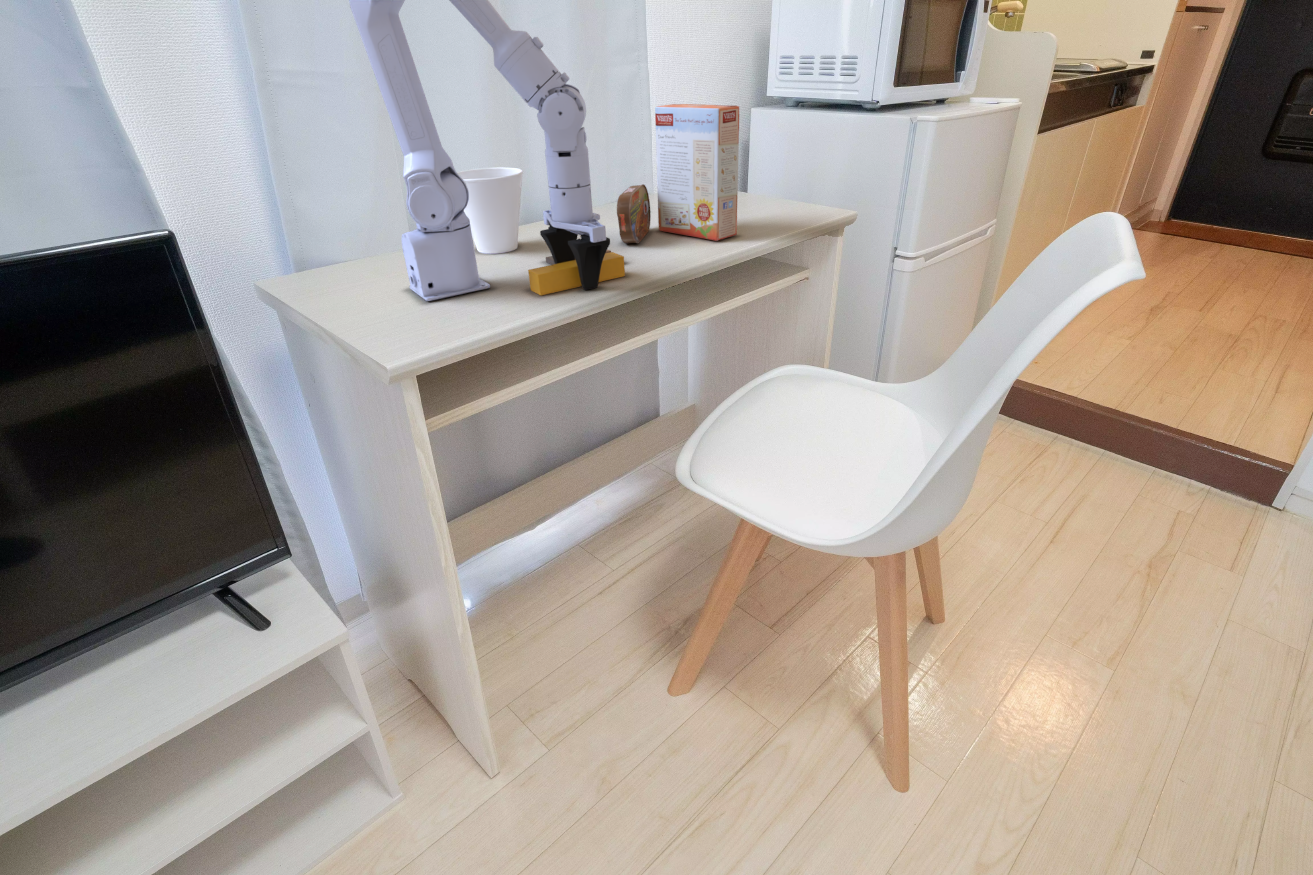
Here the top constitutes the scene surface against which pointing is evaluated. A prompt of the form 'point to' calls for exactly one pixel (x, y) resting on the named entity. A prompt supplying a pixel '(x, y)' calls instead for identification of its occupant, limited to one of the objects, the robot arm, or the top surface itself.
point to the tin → (633, 214)
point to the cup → (494, 207)
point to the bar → (572, 274)
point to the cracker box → (697, 169)
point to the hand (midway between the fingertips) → (578, 282)
